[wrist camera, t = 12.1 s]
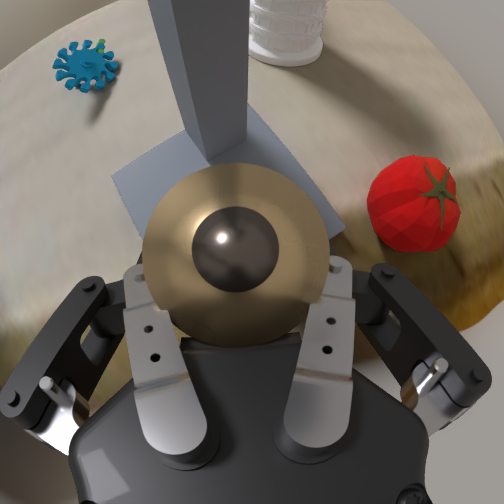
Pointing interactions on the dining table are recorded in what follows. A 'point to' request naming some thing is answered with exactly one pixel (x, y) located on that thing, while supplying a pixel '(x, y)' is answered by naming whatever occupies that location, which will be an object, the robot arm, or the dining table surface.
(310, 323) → the robot arm
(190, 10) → the press
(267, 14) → the decorative container
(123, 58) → the dining table surface
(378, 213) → the tomato
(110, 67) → the gear
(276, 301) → the disc
